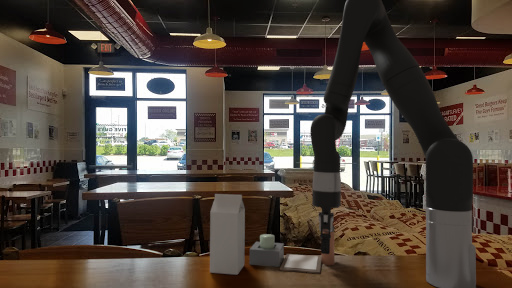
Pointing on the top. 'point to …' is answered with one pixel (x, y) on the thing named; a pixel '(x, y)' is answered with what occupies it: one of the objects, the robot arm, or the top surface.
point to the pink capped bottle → (329, 258)
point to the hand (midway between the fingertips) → (325, 248)
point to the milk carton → (227, 234)
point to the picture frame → (301, 263)
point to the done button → (267, 241)
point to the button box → (266, 255)
